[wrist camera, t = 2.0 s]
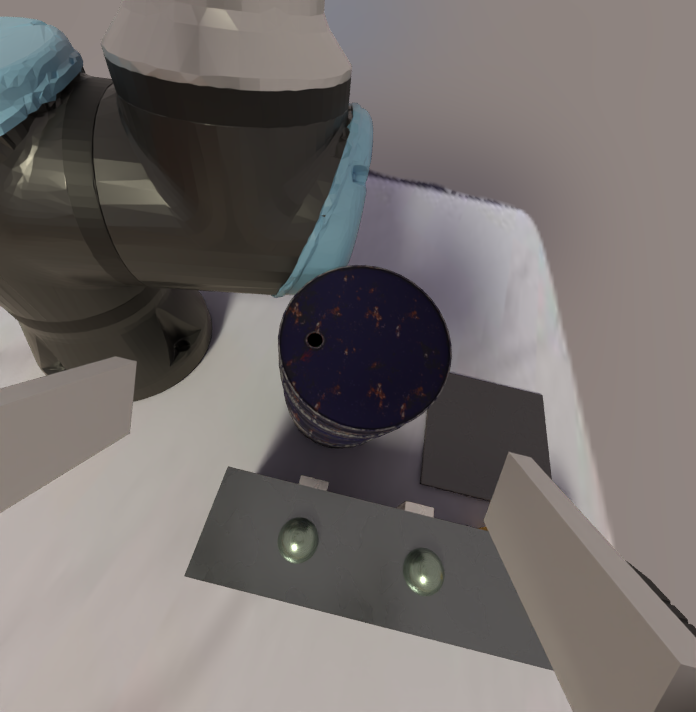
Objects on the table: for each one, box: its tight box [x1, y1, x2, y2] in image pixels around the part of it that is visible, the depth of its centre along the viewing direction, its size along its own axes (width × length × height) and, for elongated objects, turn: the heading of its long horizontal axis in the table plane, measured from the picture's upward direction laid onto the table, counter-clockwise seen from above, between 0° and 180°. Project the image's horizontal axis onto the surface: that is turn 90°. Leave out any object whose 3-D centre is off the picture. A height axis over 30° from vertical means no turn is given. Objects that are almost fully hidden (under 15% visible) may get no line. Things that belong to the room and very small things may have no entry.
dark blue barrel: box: [278, 265, 452, 448], centre depth 26 cm, size 10×10×15 cm
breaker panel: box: [185, 373, 554, 671], centre depth 27 cm, size 26×22×9 cm
